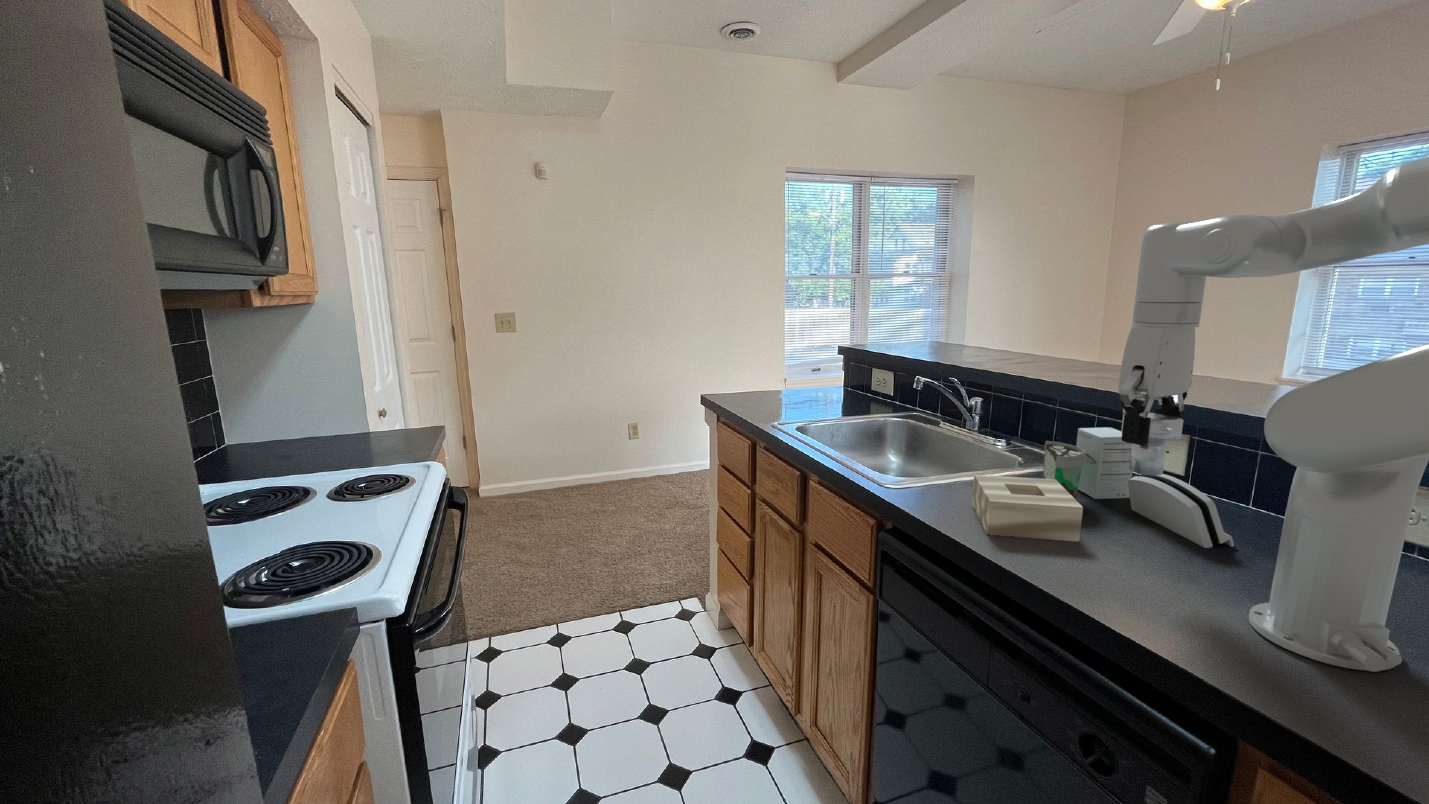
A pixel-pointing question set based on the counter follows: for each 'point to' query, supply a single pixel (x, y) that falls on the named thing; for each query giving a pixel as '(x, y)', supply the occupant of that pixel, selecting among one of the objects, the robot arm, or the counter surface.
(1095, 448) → the supplement box
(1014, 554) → the counter surface
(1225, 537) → the white curved block
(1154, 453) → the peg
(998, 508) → the block
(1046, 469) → the food container
